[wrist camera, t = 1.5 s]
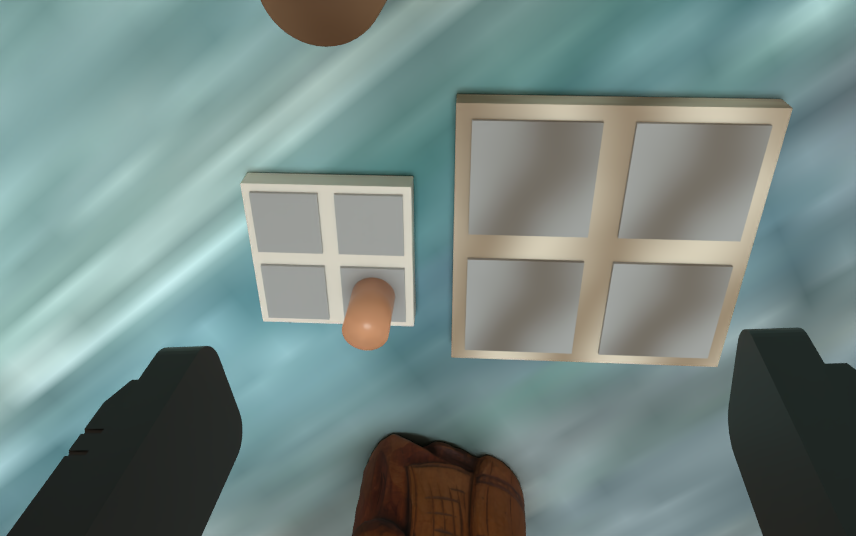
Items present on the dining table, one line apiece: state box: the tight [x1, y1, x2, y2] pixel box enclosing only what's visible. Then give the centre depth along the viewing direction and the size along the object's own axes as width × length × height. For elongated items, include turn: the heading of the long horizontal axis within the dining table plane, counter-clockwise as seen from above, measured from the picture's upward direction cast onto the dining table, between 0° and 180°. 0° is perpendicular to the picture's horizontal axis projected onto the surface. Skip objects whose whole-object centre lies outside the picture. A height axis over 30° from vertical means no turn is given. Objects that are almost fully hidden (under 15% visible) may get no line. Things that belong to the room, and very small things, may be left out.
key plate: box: [240, 173, 416, 350], centre depth 33 cm, size 8×8×4 cm
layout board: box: [451, 94, 793, 367], centre depth 33 cm, size 14×14×1 cm
